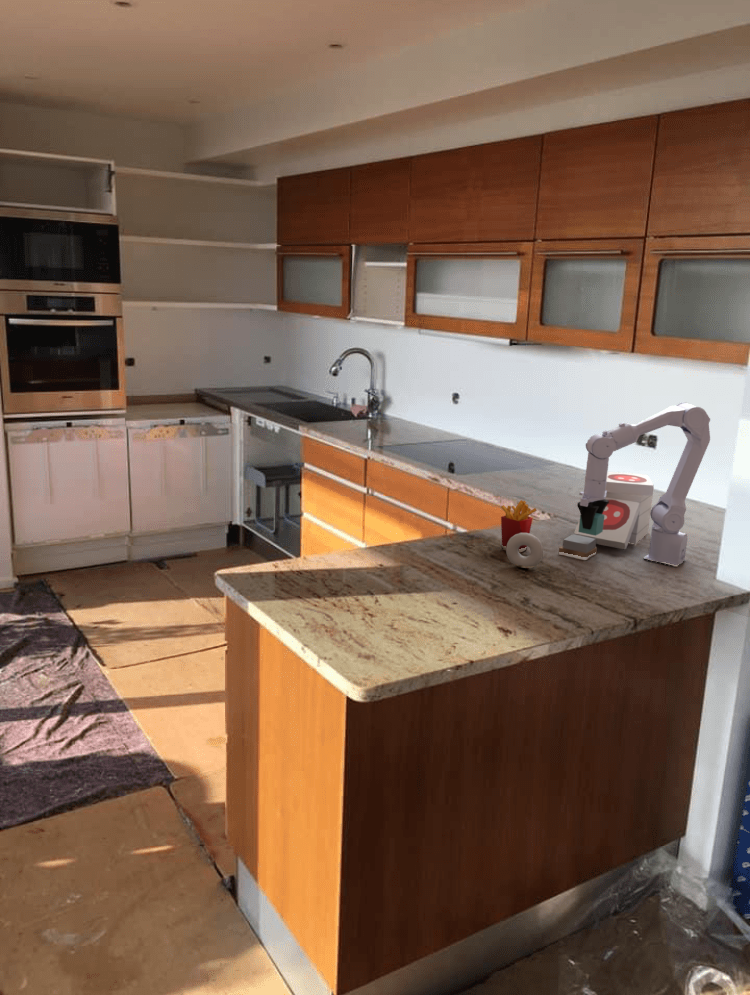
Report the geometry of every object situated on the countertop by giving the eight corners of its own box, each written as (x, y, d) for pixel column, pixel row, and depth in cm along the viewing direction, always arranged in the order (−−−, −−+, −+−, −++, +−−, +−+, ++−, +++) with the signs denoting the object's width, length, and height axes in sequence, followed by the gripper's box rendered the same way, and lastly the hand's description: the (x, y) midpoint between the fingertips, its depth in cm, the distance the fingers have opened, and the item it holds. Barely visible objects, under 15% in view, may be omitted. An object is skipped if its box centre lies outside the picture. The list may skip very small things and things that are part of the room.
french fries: (497, 549, 239) (501, 499, 235) (514, 544, 245) (518, 494, 241) (522, 557, 233) (527, 505, 229) (539, 551, 239) (544, 501, 235)
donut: (503, 567, 224) (506, 531, 222) (506, 563, 227) (509, 528, 225) (540, 573, 221) (543, 537, 218) (542, 569, 224) (546, 533, 221)
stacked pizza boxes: (566, 544, 246) (572, 485, 242) (597, 522, 271) (603, 467, 267) (631, 557, 237) (639, 496, 232) (657, 533, 262) (664, 477, 257)
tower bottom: (596, 555, 239) (597, 547, 238) (584, 562, 233) (585, 553, 232) (569, 549, 243) (570, 541, 243) (558, 556, 237) (559, 547, 236)
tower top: (595, 547, 238) (596, 538, 238) (586, 553, 233) (587, 544, 232) (571, 542, 242) (572, 533, 241) (562, 548, 236) (563, 539, 236)
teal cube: (602, 531, 233) (604, 514, 232) (595, 535, 229) (597, 518, 228) (585, 528, 236) (587, 511, 235) (578, 531, 232) (580, 514, 231)
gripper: (592, 472, 237) (586, 518, 241) (571, 480, 226) (566, 529, 229) (616, 476, 233) (610, 523, 237) (596, 485, 222) (591, 534, 225)
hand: (590, 526), depth 233 cm, fingers closed on teal cube, 5 cm apart
